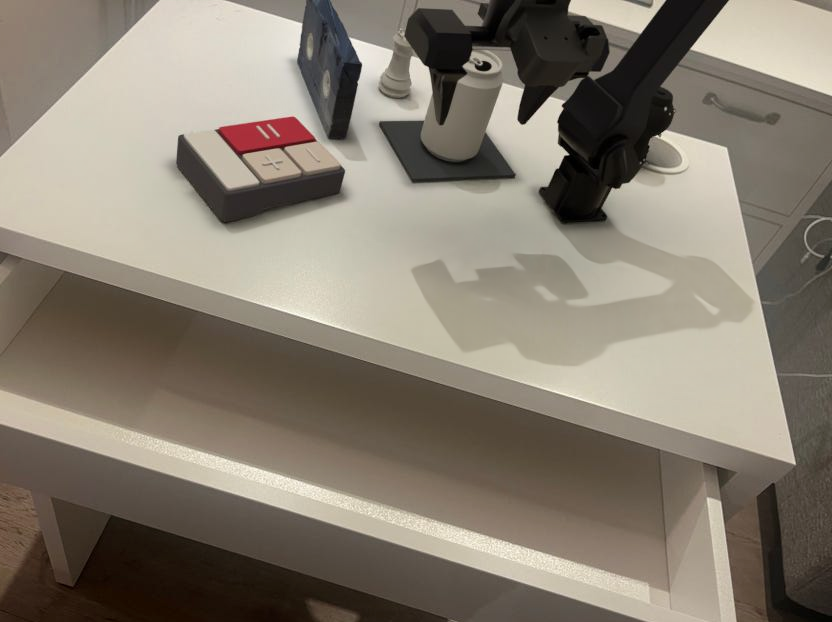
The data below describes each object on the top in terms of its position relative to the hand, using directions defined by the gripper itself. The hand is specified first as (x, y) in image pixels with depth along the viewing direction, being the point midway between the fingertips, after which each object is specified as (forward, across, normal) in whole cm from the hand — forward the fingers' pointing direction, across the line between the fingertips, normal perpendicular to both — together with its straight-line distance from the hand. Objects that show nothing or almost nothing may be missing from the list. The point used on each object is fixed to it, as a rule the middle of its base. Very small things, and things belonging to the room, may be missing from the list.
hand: (480, 122), depth 76 cm
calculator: (+13, -19, +10) cm, 25 cm away
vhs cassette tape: (+13, -7, +26) cm, 30 cm away
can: (+13, +6, +14) cm, 20 cm away
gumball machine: (+13, +32, +11) cm, 36 cm away
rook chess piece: (+13, +4, +28) cm, 31 cm away
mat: (+13, +6, +14) cm, 20 cm away
